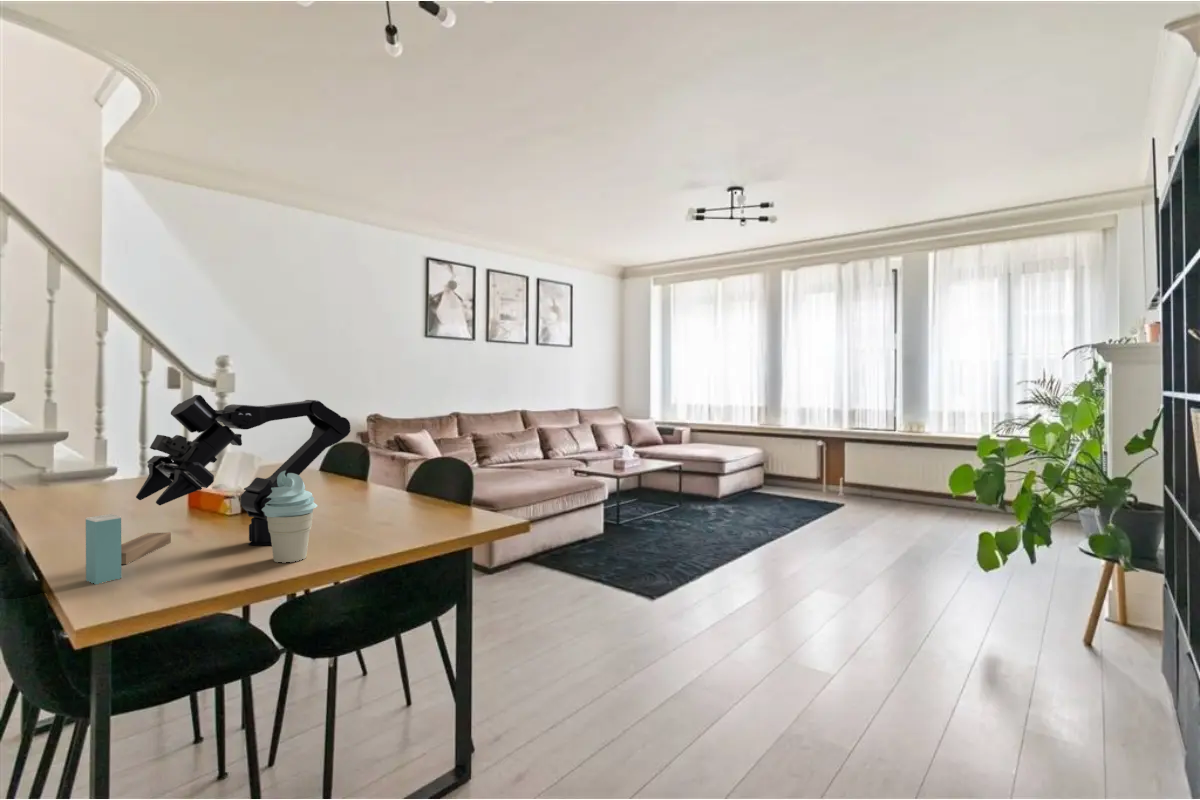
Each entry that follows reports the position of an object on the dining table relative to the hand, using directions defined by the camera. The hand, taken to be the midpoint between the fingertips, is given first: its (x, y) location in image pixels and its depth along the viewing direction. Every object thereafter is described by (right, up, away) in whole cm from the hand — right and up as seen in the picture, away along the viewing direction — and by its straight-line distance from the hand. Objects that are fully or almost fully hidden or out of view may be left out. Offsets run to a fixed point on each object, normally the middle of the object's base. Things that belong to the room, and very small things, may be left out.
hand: (147, 501), depth 127 cm
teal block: (-3, -14, -7) cm, 16 cm away
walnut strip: (-10, -14, +11) cm, 20 cm away
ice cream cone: (+26, -15, +9) cm, 31 cm away
